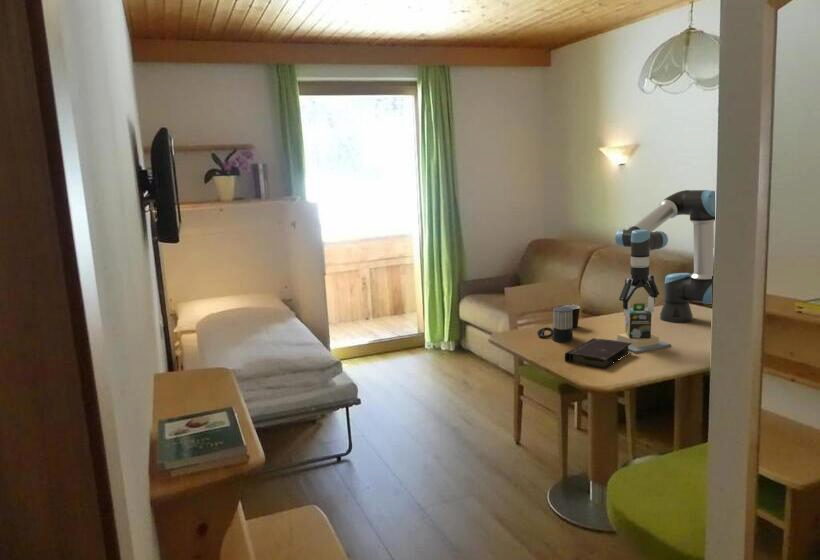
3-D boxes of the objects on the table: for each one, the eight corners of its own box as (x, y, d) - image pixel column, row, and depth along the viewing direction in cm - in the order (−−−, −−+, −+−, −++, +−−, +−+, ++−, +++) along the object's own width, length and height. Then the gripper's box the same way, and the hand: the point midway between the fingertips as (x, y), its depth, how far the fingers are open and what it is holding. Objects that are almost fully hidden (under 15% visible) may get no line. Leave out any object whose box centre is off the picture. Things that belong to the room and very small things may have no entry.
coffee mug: (580, 329, 295) (580, 309, 293) (562, 329, 297) (562, 309, 295) (578, 323, 306) (578, 303, 304) (561, 322, 308) (561, 303, 306)
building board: (640, 336, 279) (640, 327, 278) (670, 346, 263) (671, 337, 262) (605, 342, 271) (605, 334, 271) (635, 353, 255) (635, 344, 254)
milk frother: (574, 343, 273) (574, 311, 271) (538, 343, 276) (538, 311, 273) (571, 334, 287) (571, 303, 284) (537, 334, 290) (537, 304, 287)
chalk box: (645, 332, 270) (647, 300, 267) (651, 338, 261) (652, 305, 258) (624, 332, 271) (625, 300, 268) (629, 338, 262) (630, 305, 260)
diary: (564, 363, 249) (563, 351, 249) (591, 348, 268) (591, 337, 267) (607, 371, 237) (607, 358, 236) (633, 354, 255) (633, 343, 254)
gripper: (655, 261, 269) (654, 308, 273) (610, 268, 259) (610, 316, 263) (668, 263, 262) (667, 311, 266) (623, 270, 252) (622, 320, 256)
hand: (638, 314), depth 265 cm, fingers open, 13 cm apart
